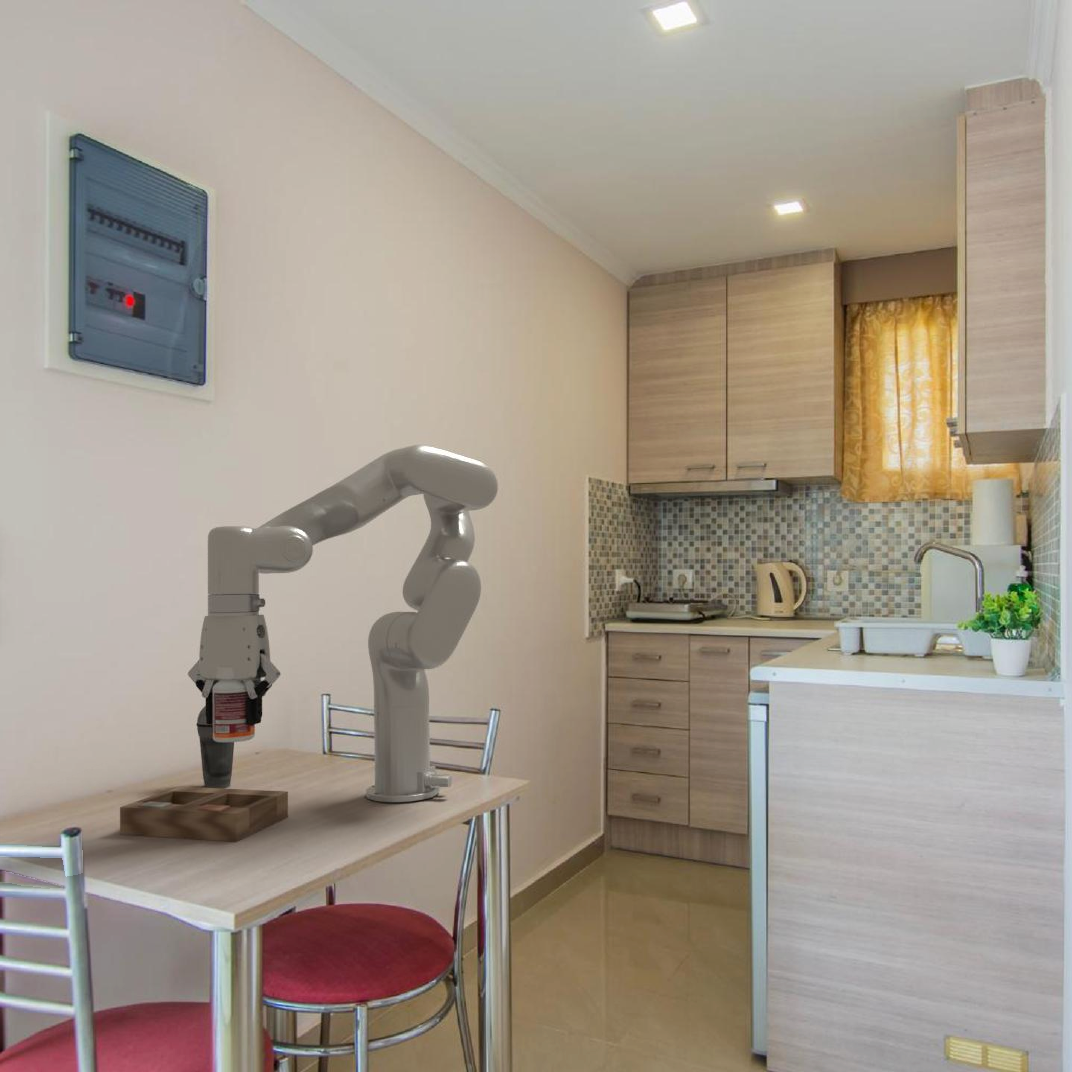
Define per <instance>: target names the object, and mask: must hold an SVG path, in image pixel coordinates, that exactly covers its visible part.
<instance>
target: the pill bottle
mask: <svg viewBox="0 0 1072 1072" xmlns="http://www.w3.org/2000/svg"><path fill="white" fill-rule="evenodd" d="M216 678H218V679H220V680H219V682H217V683H216V684H215V685H214V686H213V691H212V699H213V701H212V702H213V740H214V741H216V742H234V743H238V742H245V741H250V740H252V739H253V738H254V737H255V736H256V735H255V733H256V732H255V731H256V729H255V728H256V727H255V725H256V724H254V725H247V724H246V699H249V694H248V692H247V689H246V686H245V684H244V681H243V680H242V681H239V680H233V679H234V678H235V676H234V673H233V670H232V668H231V667H218V668H217V675H216Z"/></svg>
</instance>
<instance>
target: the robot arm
mask: <svg viewBox="0 0 1072 1072" xmlns="http://www.w3.org/2000/svg"><path fill="white" fill-rule="evenodd" d="M498 487H499V483H498V479H497V476H496V474H495V472H494V470H492V469H491V468H490V467H489V466H488V465H487V464H485V463H483V462H482V461H479V460H476V459H473V458H470V457H468V456H467V457H466V456H463V455H459V454H457V453H453V452H449V451H447V450H444V449H440V448H436V447H433V446H429V445H425V444H424V445H423V444H415V445H414V444H413V445H409V446H406V447H401V448H396V449H393V450H390V451H388V452H386V453H384V454H382V455H380V456H378V457H377V458H375V459H373V460H372V461H371V462H368V463H367V464H366V465H364V466H363V467H360V468H359V469H357V470H356V471H355V472H353V473H352V474H350V475H347V476H346V477H345V478H343V479H342V480H340V481H338V482H336V483H335V484H332V485H331V486H329V487H328V488H325V489H323V490H321V491H320V492H318V493H316V494H315V495H313V496H311V497H309V498H308V499H306V500H304V501H301V502H300V503H298V504H296V505H295V506H293V507H291V508H289V509H286V510H285V511H283V512H282V513H279V514H278V515H277V516H275V517H273V518H271V519H270V520H268V521H266V522H265V523H262V525H260V526H259V527H256V528H253V527H250V526H242V525H241V526H240V525H239V526H238V525H235V526H233V525H229V526H227V525H226V526H215V527H214V528H212V529H210V530H209V532H208V535H207V615H205V616H204V618H203V622H202V626H201V627H202V628H201V632H200V633H201V634H200V640H199V641H200V642H199V652H198V653H199V654H198V655H199V657H198V658H199V659H198V660H197V662H195V664H193V666H192V667H191V668H190V669H189V671H188V672H187V676H188V677H189V678H190V679H191V680H192V682H193V683H194V684H195V686H196V688H197V689H198V690H199V692H201V696H202V698H204V699H205V706H206V723H207V724H213V702H212V701H213V699H212V691H213V686H214V685H215V684H216V683H217V682H219V680H220V679H218V678H216V675H217V668H218V667H231V668H232V670H233V673H234V676H235V678H234V679H233V680H239V681H242V680H243V681H244V684H245V686H246V689H247V692H248V694H249V699H246V724H247V725H254V724H255V725H258V724H260V723H261V721H262V717H263V697H265V696H266V694H267V692H268V691H269V690H270V689H271V688H272V686H273V684H274V683H275V682H276V681H277V680H278V679H279V677H280V676H281V671H280V670H279V669H278V668H277V667H276V665H275V664H274V663H273V662H272V661H271V651H270V650H271V649H270V639H269V633H268V627H267V623H266V619H265V615H264V614H259V613H260V608H264V607H266V599H265V598H262V597H261V598H260V594H259V593H260V585H259V584H260V583H259V581H260V580H259V578H260V577H259V576H260V574H265V575H267V574H290V573H294V572H297V571H300V570H301V569H302V568H304V567H305V566H307V565H308V563H309V562H310V560H312V559H311V558H312V556H313V553H314V552H313V551H314V549H313V547H314V546H315V545H317V544H319V543H321V542H323V541H326V540H329V539H332V538H335V537H339V536H342V535H343V536H344V535H346V534H349V533H352V532H354V531H356V530H358V529H360V528H363V527H364V526H366V525H367V524H369V523H370V522H372V521H374V520H375V519H377V517H378V516H380V515H382V514H383V513H385V512H386V511H389V509H391V508H392V507H394V506H396V505H397V504H399V503H400V502H402V501H404V500H405V499H407V498H409V497H411V496H416V495H417V496H418V495H423V500H424V502H425V505H426V508H427V511H428V513H429V518H430V529H429V530H430V531H429V534H428V536H427V539H426V540H425V543H424V545H423V546H422V548H421V549H420V552H419V554H418V555H417V557H416V559H415V560H414V563H413V564H412V566H411V568H410V570H409V571H408V574H407V576H406V577H405V580H404V581H403V585H402V597H403V600H404V601H405V603H406V604H407V606H408V607H409V608H411V609H413V610H415V611H417V612H414V611H393V612H389V613H386V614H383V615H382V616H380V617H379V618H378V619H376V620H375V622H374V623H373V624H372V626H371V628H370V630H369V634H368V639H367V646H368V647H367V648H368V655H369V660H370V666H371V670H372V679H373V681H372V683H373V724H374V725H373V726H374V727H373V733H374V734H373V737H374V740H373V742H374V743H373V744H374V747H373V749H374V784H373V785H370V786H368V787H367V788H366V790H365V796H366V798H367V799H369V800H371V801H375V802H381V803H408V802H418V801H423V800H427V799H431V798H433V797H435V796H437V795H438V794H439V793H440V788H451V787H452V785H453V783H452V782H453V779H452V778H453V777H452V776H451V775H450V774H449V773H442V774H441V773H438V772H436V765H431V757H430V756H431V752H430V749H431V748H430V738H431V737H430V689H429V688H430V687H429V682H428V678H427V673H426V672H425V670H434V669H436V668H439V667H441V666H443V664H445V663H447V661H448V660H449V659H450V657H452V655H453V654H454V651H455V650H456V648H457V647H458V644H459V643H460V640H461V639H462V637H463V635H464V633H465V631H466V629H467V627H468V625H469V623H470V622H471V621H470V620H471V619H472V618H473V615H474V613H475V611H476V609H477V607H478V605H479V602H480V598H481V591H482V584H481V578H480V574H479V572H478V570H477V569H476V567H475V566H473V565H472V564H471V562H469V560H470V558H471V555H472V554H473V550H474V547H475V540H476V538H475V529H474V525H473V521H472V518H471V515H470V511H477V510H478V511H479V510H482V509H484V508H486V507H488V506H489V505H490V504H492V503H493V501H494V500H495V498H496V497H497V493H498V489H499V488H498ZM263 678H264V679H263Z"/></svg>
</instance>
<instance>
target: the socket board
mask: <svg viewBox="0 0 1072 1072" xmlns="http://www.w3.org/2000/svg"><path fill="white" fill-rule="evenodd" d="M287 818H289V792H288V791H283V790H280V791H279V790H263V789H241V788H237V789H236V788H205V787H201V786H200V787H199V786H198V787H195V786H178V787H175V788H172V789H169V790H166V791H163V792H160V793H157V794H154V795H151V796H148V797H145V798H142V799H139V800H137V801H134V802H131V803H128V804H126V805H122V806H120V807H119V834H120V835H127V836H129V835H130V836H145V837H156V838H157V837H159V838H163V837H164V838H171V839H172V838H176V839H189V840H191V839H192V840H209V841H222V842H234V843H235V842H236V843H237V842H239V841H241V840H243V839H246V838H247V837H249V836H251V835H254V834H255V833H257V832H259V831H262V830H264V829H266V828H268V827H270V826H272V825H275V824H276V823H278V822H280V821H283V820H285V819H287Z"/></svg>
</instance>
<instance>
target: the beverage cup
mask: <svg viewBox="0 0 1072 1072" xmlns="http://www.w3.org/2000/svg"><path fill="white" fill-rule="evenodd" d="M195 726H196V727H197V728H196V729H197V733H198V738H199V747H200V756H201V757H200V759H201V768H202V779H203V784H204V788H222V789H227V788H229V787H231V781H232V774H233V763H234V762H233V761H234V750H235V749H234V748H235V742H216V741H214V740H213V724H207V723H206V705H204V707H203V708H202V709H201V710H200V712H199V714H198V715H197V720H196V725H195Z"/></svg>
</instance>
